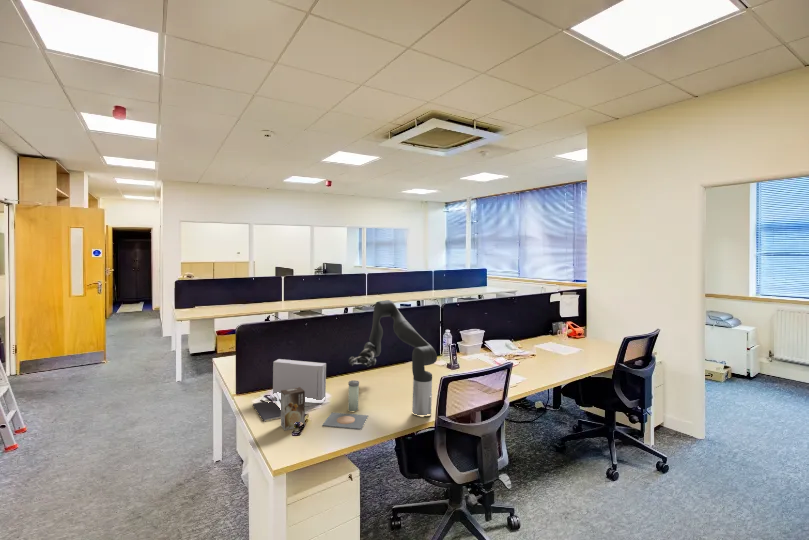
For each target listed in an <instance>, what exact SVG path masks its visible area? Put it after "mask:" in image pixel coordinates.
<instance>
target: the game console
mask: <svg viewBox="0 0 809 540" xmlns="http://www.w3.org/2000/svg"><path fill="white" fill-rule="evenodd" d="M272 363H273V364H272V365H273V366H272V372H273V373H272V395H273V394H274V393H277V392H279V393H281V390H286V389H292V388H298V387H301V388H302V389H303V390H304V391H305V397H307V398H313V399H316V400H322V399H323V398H324V397H325V398H326V392H327V390H326V387H327V386H326V385H327V363H326V362H315V361H305V360H304V361H303V360H293V359H292V360H291V359H282V358H278V359H276V360H274V361H273V362H272Z"/></svg>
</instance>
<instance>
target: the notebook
mask: <svg viewBox="0 0 809 540" xmlns="http://www.w3.org/2000/svg"><path fill="white" fill-rule="evenodd" d="M252 406H254V407H255V408H254V407H253V408H254V410H255V409H256V410H257V411H256V410H255V411H256V413H257V412H258V413H259V414H258V413H257V414H258V416H259V415H260V416H261V417H260V416H259V417H260V419H261V418H262V419H263V420H262V419H261V420H262V421H265V422H267V421H266V420H269V421H272V420H271V419H274V420H278V419H281V410H280V408H279V407H278V406H277V405H276V404H275V403H273V402H269V403H268V402H265V401H261V402H256V403H253V404H252ZM277 418H278V419H277Z"/></svg>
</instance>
